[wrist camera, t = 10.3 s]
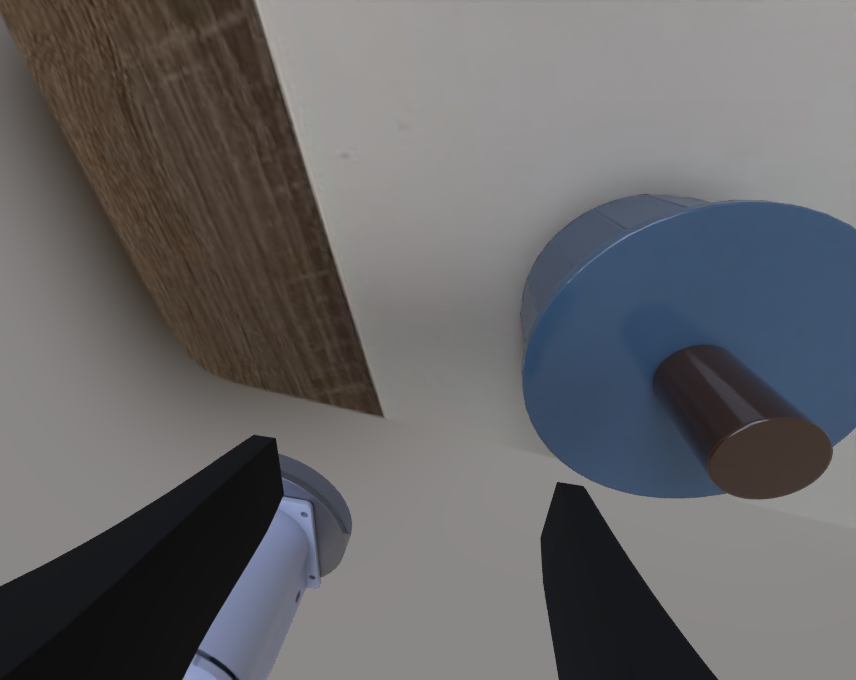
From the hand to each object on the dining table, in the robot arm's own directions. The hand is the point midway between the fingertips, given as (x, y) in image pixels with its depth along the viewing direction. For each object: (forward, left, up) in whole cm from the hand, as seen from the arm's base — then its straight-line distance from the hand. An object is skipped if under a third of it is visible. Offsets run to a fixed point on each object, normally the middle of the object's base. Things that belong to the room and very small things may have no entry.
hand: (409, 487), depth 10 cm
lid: (+2, -8, -4) cm, 9 cm away
